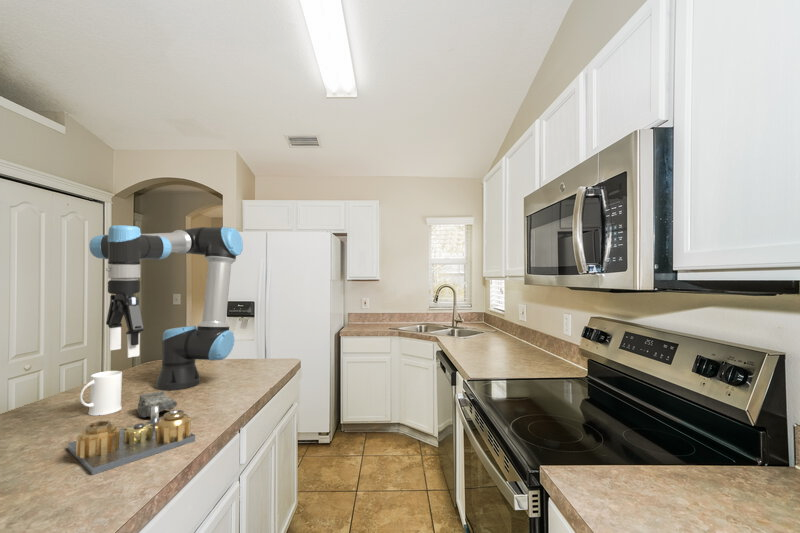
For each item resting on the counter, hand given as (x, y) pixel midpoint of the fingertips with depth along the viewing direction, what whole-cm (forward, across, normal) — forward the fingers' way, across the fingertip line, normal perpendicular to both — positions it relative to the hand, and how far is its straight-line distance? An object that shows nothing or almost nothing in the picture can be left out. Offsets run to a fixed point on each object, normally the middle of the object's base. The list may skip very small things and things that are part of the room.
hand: (123, 353), depth 108 cm
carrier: (+21, +15, -3) cm, 26 cm away
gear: (+20, +15, -10) cm, 27 cm away
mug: (+22, -20, 0) cm, 30 cm away
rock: (+22, -5, +10) cm, 25 cm away
